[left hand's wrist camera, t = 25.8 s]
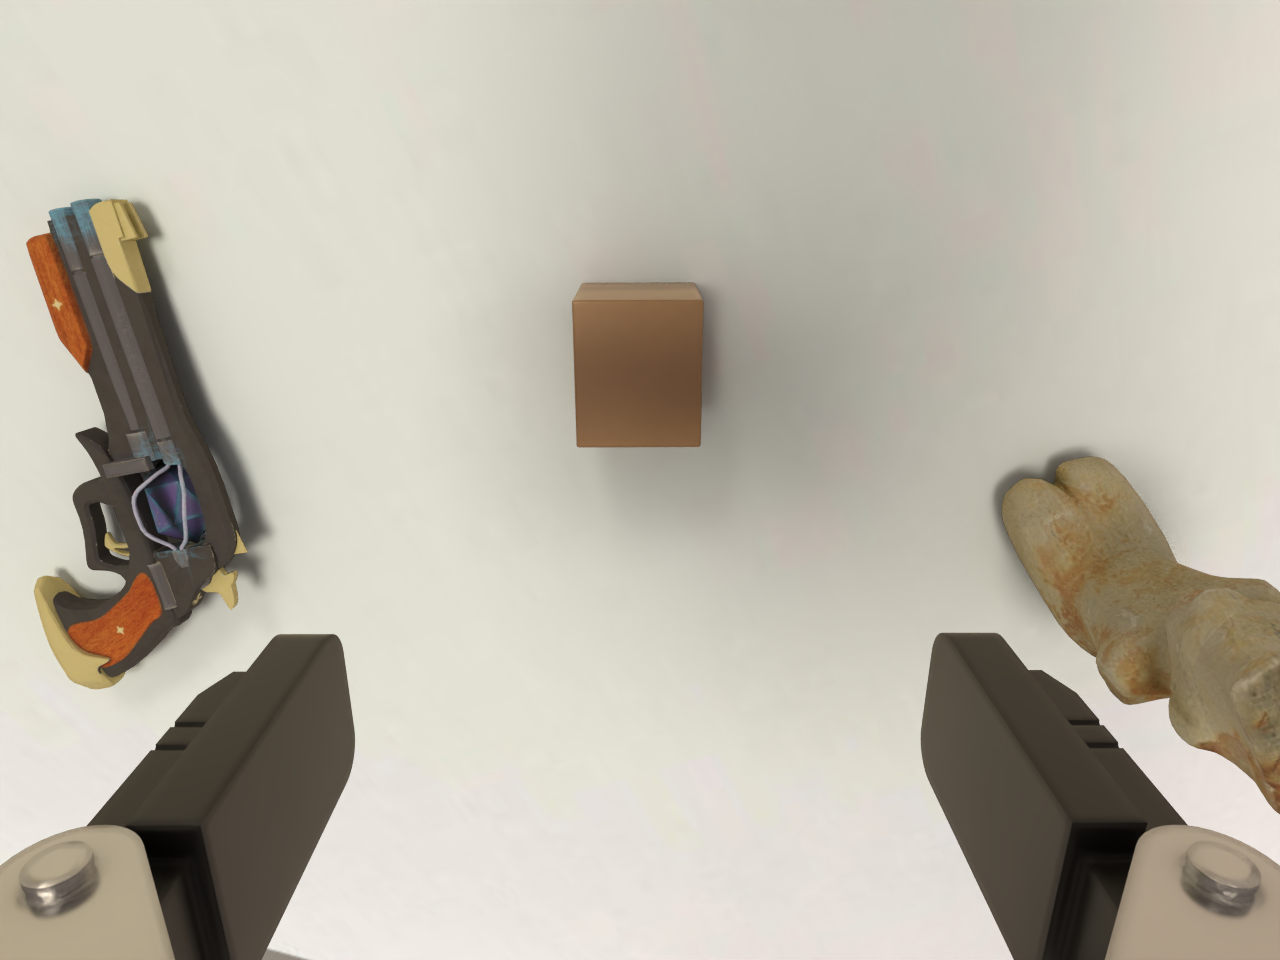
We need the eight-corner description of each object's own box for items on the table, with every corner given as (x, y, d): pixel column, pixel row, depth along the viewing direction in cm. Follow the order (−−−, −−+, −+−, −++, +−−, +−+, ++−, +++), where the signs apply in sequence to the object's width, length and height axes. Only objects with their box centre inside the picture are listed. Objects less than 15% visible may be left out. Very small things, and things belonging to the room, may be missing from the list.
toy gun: (59, 704, 36) (271, 680, 34) (-138, 247, 30) (99, 190, 29) (106, 672, 38) (305, 648, 36) (-68, 244, 33) (153, 192, 31)
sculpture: (1109, 429, 34) (1443, 611, 20) (1148, 576, 36) (1474, 833, 22) (969, 484, 35) (1195, 697, 21) (1016, 625, 37) (1249, 903, 23)
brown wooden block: (581, 283, 32) (571, 300, 28) (694, 282, 32) (703, 299, 28) (584, 412, 34) (576, 447, 29) (692, 411, 34) (700, 447, 29)
